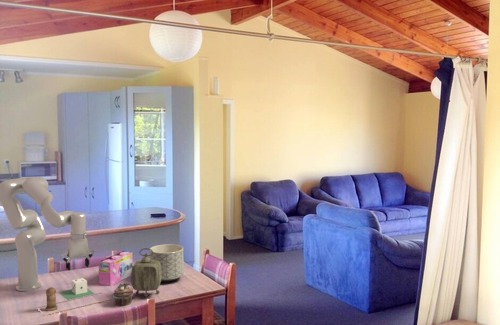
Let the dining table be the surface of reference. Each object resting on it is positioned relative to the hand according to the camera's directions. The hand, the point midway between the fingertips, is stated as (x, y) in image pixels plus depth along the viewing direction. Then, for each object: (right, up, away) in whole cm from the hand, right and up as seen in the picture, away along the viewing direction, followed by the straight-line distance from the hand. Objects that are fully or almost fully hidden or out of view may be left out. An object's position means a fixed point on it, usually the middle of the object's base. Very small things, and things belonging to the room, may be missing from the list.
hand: (77, 268), depth 249 cm
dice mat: (0, -13, -1) cm, 13 cm away
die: (+1, -13, +1) cm, 13 cm away
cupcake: (+28, -15, -14) cm, 35 cm away
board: (+4, -14, -16) cm, 22 cm away
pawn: (-4, -15, -23) cm, 27 cm away
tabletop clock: (+37, -14, -4) cm, 40 cm away
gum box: (+15, -12, +22) cm, 29 cm away
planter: (+43, -12, +22) cm, 50 cm away
